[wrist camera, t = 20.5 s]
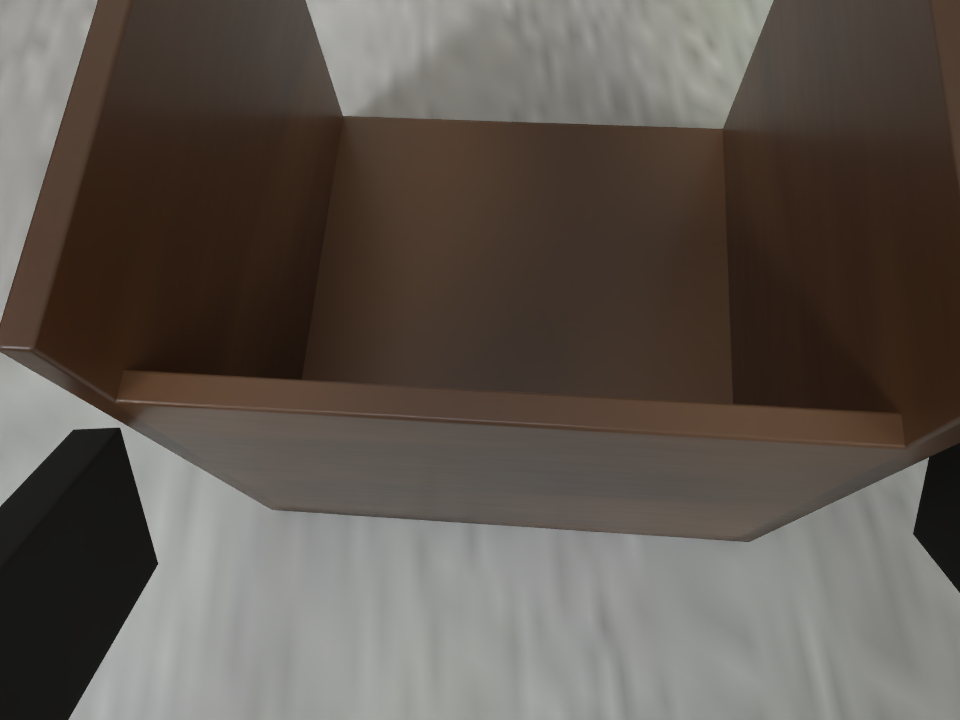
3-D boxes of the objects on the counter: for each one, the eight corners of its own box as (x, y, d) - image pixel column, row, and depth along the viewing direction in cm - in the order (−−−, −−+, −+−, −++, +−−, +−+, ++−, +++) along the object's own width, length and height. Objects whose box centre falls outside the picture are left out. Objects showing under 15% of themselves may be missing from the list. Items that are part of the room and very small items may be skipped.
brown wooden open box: (270, 510, 19) (-10, 348, 9) (332, 131, 23) (183, -288, 13) (751, 542, 19) (1042, 405, 8) (733, 145, 22) (919, -287, 12)
